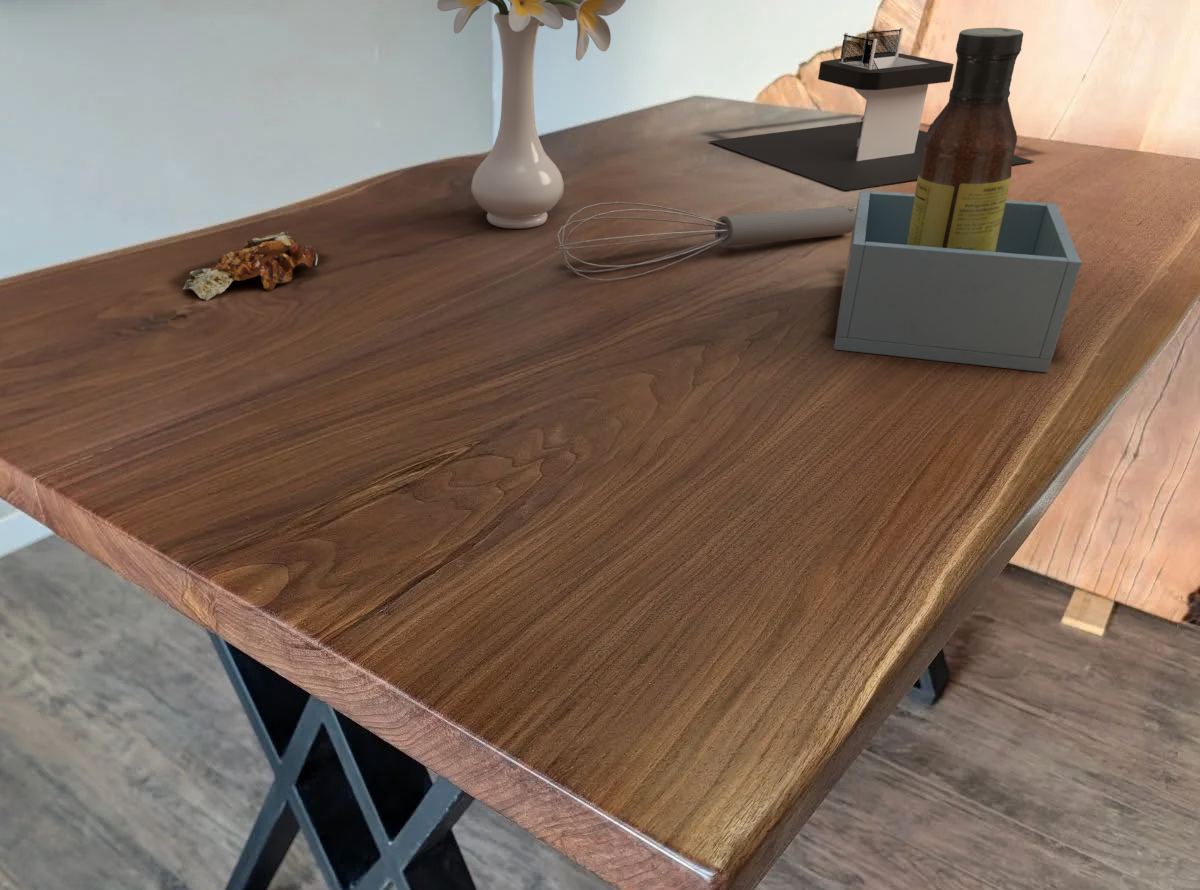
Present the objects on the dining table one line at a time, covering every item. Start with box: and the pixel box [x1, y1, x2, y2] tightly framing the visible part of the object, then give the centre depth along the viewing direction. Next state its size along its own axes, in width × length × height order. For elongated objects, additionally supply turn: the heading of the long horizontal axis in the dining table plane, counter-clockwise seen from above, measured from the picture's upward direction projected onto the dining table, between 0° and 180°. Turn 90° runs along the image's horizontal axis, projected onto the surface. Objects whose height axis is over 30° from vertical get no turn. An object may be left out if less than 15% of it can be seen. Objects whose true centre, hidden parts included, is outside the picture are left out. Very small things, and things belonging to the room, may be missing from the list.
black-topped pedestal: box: [708, 27, 1034, 191], centre depth 125 cm, size 28×26×13 cm
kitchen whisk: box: [554, 201, 857, 282], centre depth 95 cm, size 6×34×6 cm, turn 115°
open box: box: [833, 189, 1082, 374], centre depth 80 cm, size 15×15×8 cm
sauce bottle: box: [907, 27, 1024, 252], centre depth 76 cm, size 7×6×20 cm
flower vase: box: [436, 0, 627, 230], centre depth 100 cm, size 13×18×25 cm
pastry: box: [182, 231, 319, 301], centre depth 92 cm, size 7×12×4 cm, turn 137°
